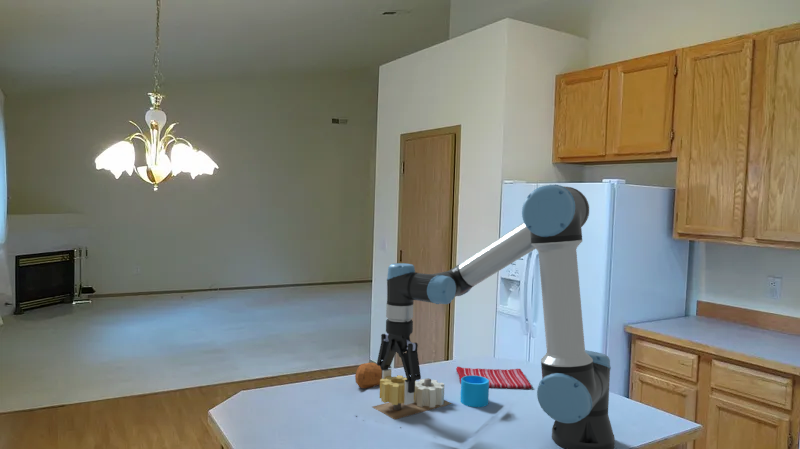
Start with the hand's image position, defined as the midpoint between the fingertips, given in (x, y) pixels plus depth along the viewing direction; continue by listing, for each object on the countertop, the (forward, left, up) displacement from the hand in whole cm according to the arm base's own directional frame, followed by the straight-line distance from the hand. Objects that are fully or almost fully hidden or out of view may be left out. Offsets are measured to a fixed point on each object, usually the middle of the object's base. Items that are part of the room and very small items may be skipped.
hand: (397, 397), depth 155 cm
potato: (+23, -8, -5) cm, 25 cm away
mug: (-7, -24, -5) cm, 25 cm away
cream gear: (0, -11, -3) cm, 11 cm away
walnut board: (0, -6, -5) cm, 7 cm away
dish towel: (+6, -46, -6) cm, 46 cm away
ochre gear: (0, 0, 0) cm, 0 cm away
